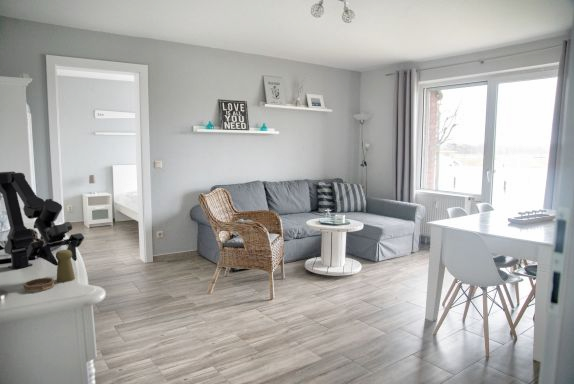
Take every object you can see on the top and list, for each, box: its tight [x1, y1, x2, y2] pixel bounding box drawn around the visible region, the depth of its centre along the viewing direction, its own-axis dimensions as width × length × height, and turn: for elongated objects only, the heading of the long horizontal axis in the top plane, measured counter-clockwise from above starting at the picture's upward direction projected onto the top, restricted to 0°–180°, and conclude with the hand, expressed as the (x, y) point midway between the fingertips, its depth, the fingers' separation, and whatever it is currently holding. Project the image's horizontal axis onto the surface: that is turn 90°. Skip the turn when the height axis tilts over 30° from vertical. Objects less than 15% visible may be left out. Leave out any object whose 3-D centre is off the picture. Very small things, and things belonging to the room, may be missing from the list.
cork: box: [55, 249, 76, 283], centre depth 147 cm, size 6×6×11 cm
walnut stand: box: [22, 277, 55, 293], centre depth 139 cm, size 9×9×2 cm
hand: (66, 262), depth 147 cm, fingers open, 7 cm apart
